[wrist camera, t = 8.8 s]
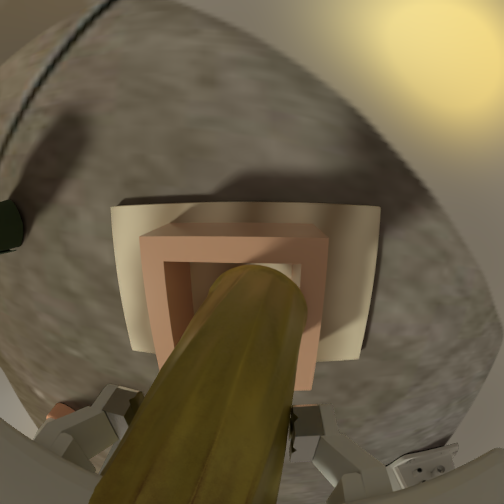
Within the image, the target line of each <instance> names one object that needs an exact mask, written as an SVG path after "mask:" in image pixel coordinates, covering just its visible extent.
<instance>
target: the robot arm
mask: <svg viewBox="0 0 504 504" xmlns="http://www.w3.org/2000/svg"><path fill="white" fill-rule="evenodd" d="M143 399H144V395H143V393H142V392H141V391H137V390H133V389H129V388H126V387H122V386H118V385H114V384H107V385H106V386H105V388H104V389H103V391H102V392H101V393H100V395H99V396H98V398H97V399H96V400H95V402H94V403H93V404H92V406H91V407H90V406H87V407H84V408H82V409H80V410H77V411H75V412H73V413H70V414H68V415H65V416H63V417H60V418H58V419H55V420H53V421H50V422H48V423H47V424H46V425H45V426H44V427H43V429H42V430H41V431H40V433H39V434H38V435H37V436H36V438H35V439H34V440H31V439H30V438H28V437H27V436H25V435H24V434H22V433H21V432H19V431H18V430H17V429H15V428H14V427H12V426H11V425H10V424H8V423H7V422H6V421H4V420H3V419H2V418H0V504H88V503H89V500H90V498H91V496H92V494H93V492H94V489H95V487H96V485H97V484H98V483H99V481H100V480H101V478H102V477H103V476H101V475H99V474H97V473H95V471H96V469H95V467H94V466H93V464H92V463H91V462H90V460H89V459H91V458H92V457H94V456H95V455H97V454H98V453H100V452H101V451H103V450H105V449H106V448H108V447H109V446H111V445H112V444H114V443H115V442H116V441H118V440H119V439H121V440H122V438H123V436H124V434H125V432H126V431H127V429H128V427H129V425H130V424H131V422H132V420H133V418H134V416H135V414H136V413H137V411H138V409H139V407H140V405H141V403H142V401H143ZM289 441H290V447H289V455H290V462H312V463H313V464H314V465H315V466H316V467H317V469H318V470H319V471H320V472H321V473H322V474H323V475H324V476H325V478H326V479H327V480H328V481H329V482H330V483H331V484H332V485H333V486H334V487H335V489H334V490H333V492H332V493H331V495H330V496H329V498H328V499H327V501H326V504H504V449H503V448H494V449H492V450H490V451H489V452H487V453H485V454H483V455H482V456H480V457H478V458H476V459H474V460H472V461H470V462H468V463H466V464H464V465H462V466H460V467H458V468H456V469H455V468H454V463H453V460H452V459H453V457H454V456H455V455H456V452H457V451H458V449H459V445H458V443H454V444H451V445H447V446H443V447H439V448H435V449H431V450H427V451H422V452H418V453H413V454H407V455H404V456H402V457H400V458H399V459H397V460H396V461H394V462H393V463H392V464H390V465H388V466H387V467H386V466H385V465H384V464H382V463H381V462H380V461H378V460H377V459H376V458H374V457H373V456H371V455H370V454H369V453H368V452H366V451H365V450H364V449H362V448H361V447H360V446H358V445H357V444H356V443H355V442H353V441H352V440H351V439H350V438H348V437H347V436H346V435H345V434H340V432H339V428H338V424H337V420H336V416H335V412H334V408H333V405H332V403H328V404H311V405H292V407H291V418H290V421H289Z"/></svg>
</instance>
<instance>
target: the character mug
mask: <svg viewBox="0 0 504 504" xmlns="http://www.w3.org/2000/svg"><path fill="white" fill-rule="evenodd" d="M22 238H23V223H22V220H21V217H20V214H19V212H18V210H17V208H16V206H15V204H14V203H13V202H12V201H11V200H6V201H2V202H0V254H4V253H8V252H13V251H16V250H10V249H12V248H15V247H19V246H20V245H21V242H22Z"/></svg>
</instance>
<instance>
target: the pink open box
mask: <svg viewBox="0 0 504 504" xmlns="http://www.w3.org/2000/svg"><path fill="white" fill-rule="evenodd" d="M139 243H140V254H141V263H142V272H143V280H144V288H145V295H146V302H147V308H148V314H149V320H150V326H151V331H152V337H153V342H154V347H155V352H156V356H157V361H158V365H159V370H161V368H162V366H163V365H164V363H165V362H166V360H167V359H168V357H169V356H170V354H171V353H172V351H173V350H174V348H175V347H176V345H177V344H178V342H179V341H180V339H181V337H182V335H183V333H184V332H185V330H186V328H187V326H188V325H189V323H190V321H191V320H192V318H193V316H194V311H193V300H192V288H191V274H190V262H214V263H272V264H292V271H291V280H292V281H293V282H294V283H295V284H296V285H297V286H298V287H299V288H300V290H301V292H302V294H303V296H304V298H305V300H306V304H307V308H308V315H307V322H306V326H305V329H304V332H303V334H302V338H301V344H300V349H299V356H298V363H297V371H296V380H295V387H294V391H296V390H311V388H312V383H313V377H314V371H315V364H316V358H317V351H318V344H319V337H320V329H321V321H322V313H323V304H324V294H325V284H326V272H327V260H328V245H329V238H328V237H327V236H326V235H325V234H324V233H323V232H322V231H321V230H320V229H318V228H317V227H316V226H315V225H314V224H307V223H168V224H166V225H164V226H161V227H159V228H157V229H155V230H152V231H150V232H148V233H146V234H143V235H141V236H139Z"/></svg>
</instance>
